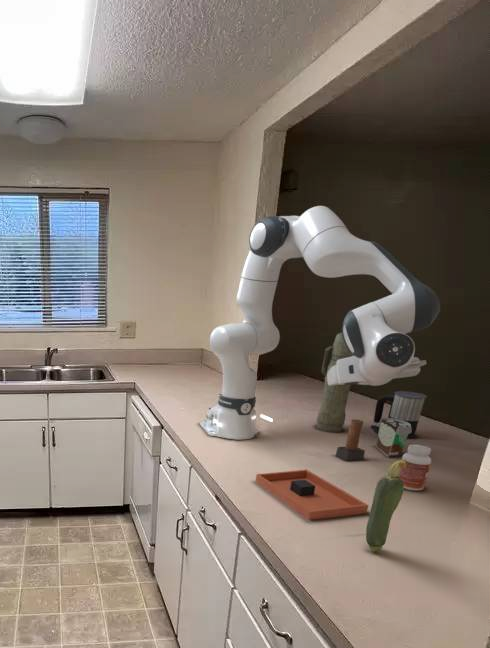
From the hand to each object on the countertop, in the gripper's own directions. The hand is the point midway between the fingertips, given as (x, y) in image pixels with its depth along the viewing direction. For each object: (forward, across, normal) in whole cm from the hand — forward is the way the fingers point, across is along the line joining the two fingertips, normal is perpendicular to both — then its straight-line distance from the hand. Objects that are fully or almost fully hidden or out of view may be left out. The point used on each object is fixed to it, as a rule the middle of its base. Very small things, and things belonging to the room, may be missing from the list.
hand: (365, 378), depth 120 cm
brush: (+17, +3, +21) cm, 27 cm away
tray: (-15, +19, +31) cm, 40 cm away
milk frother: (+45, -15, +13) cm, 50 cm away
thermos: (+46, +4, +9) cm, 47 cm away
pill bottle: (+2, -7, +30) cm, 31 cm away
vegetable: (-33, +9, +42) cm, 54 cm away
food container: (+27, -10, +20) cm, 35 cm away
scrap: (-14, +20, +30) cm, 39 cm away
